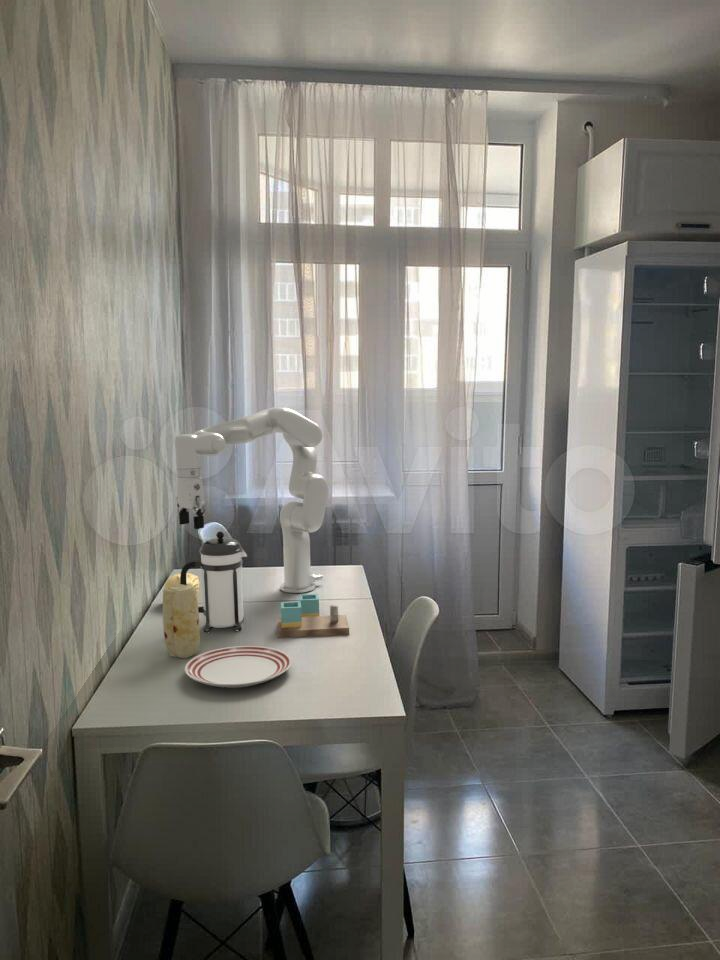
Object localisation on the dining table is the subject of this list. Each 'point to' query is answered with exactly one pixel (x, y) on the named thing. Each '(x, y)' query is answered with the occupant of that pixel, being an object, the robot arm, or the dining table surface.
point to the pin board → (317, 625)
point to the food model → (181, 620)
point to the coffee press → (220, 582)
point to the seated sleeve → (291, 614)
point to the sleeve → (309, 605)
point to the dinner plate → (238, 666)
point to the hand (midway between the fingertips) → (191, 526)
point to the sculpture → (190, 579)
